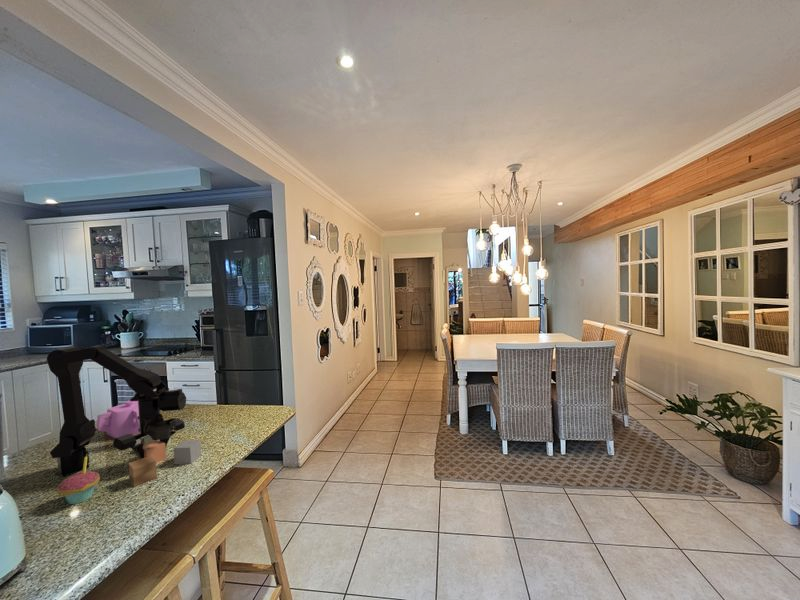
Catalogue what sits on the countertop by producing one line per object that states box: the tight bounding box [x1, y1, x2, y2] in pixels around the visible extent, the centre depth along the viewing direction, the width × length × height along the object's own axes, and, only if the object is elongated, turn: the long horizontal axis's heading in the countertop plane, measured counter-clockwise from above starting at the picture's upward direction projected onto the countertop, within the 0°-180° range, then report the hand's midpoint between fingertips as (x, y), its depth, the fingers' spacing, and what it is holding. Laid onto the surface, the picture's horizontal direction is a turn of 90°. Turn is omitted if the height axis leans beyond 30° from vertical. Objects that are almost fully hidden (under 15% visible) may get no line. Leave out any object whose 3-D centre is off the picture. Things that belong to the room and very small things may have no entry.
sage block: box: [143, 436, 172, 447], centre depth 124 cm, size 6×6×6 cm
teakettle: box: [96, 400, 140, 439], centre depth 139 cm, size 17×17×12 cm
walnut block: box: [128, 456, 158, 488], centre depth 102 cm, size 6×6×6 cm
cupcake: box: [56, 454, 101, 505], centre depth 93 cm, size 9×8×12 cm
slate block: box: [172, 439, 202, 465], centre depth 113 cm, size 6×6×6 cm
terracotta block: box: [143, 440, 167, 464], centre depth 113 cm, size 6×6×6 cm
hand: (152, 458), depth 113 cm, fingers closed on terracotta block, 5 cm apart
